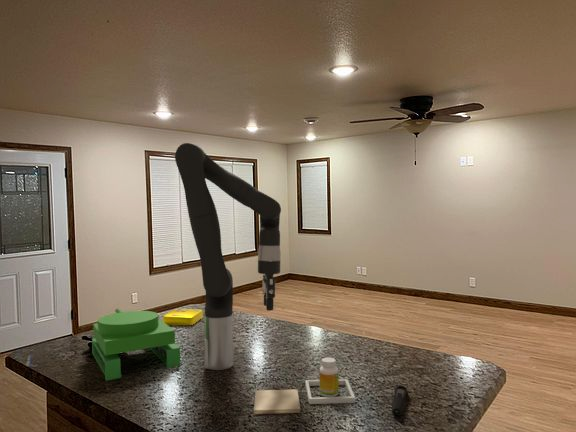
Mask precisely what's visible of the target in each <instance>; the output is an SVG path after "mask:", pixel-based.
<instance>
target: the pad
mask: <svg viewBox="0 0 576 432" xmlns="http://www.w3.org/2000/svg"><path fill="white" fill-rule="evenodd" d="M254 392H255V393H254V402H253V403H254V407H253V415H260V414H261V415H265V414H267V415H268V414H295V413H296V414H299V413H301V405H300V398H299V392H298V388H297V389H265V390H264V389H263V390H261V389H260V390H255V391H254Z"/></svg>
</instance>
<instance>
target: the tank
mask: <svg viewBox="0 0 576 432" xmlns="http://www.w3.org/2000/svg"><path fill="white" fill-rule="evenodd" d="M92 328H93V330H92V331H93V333H92V334H93V338H91V340H92V341H91V345H92V346H91V347H92V349H91V353H92V355H93V358H94V359H95V361H96V362H97V364H98V366H99V369H101V371H102V373H103V375H104V377H105V378H104V379H105V381H112V380H117V379H120V378H122V377H123V375H122V371H121V369H122V368H121V358H120V356H119V355H118V354H124V353H127V352H129V353H130V352H134V351H140V350H145V349H150V351H152V352H153V354H155V355H156V357H158V358H159V360H161V361H162V362H163V364H165V365H166V369H168V368H169V369H170V368H174V367H178V366H181V365H182V363H181V347H180V346H179V345H177V344H176V331H175V329H174V328H172V327H171V326H170V325H167V324H165V323H164V322H163V320H161V318H159V313H158V312H155V311H151V310H150V311H149V310H129V311H122V310H121V309H120V308H118V307H117V308H116V309H115V311H114V313H110V314H107V315H104V316H101V317H99V318H98V319H97V322H96V323H92Z"/></svg>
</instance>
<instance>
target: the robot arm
mask: <svg viewBox="0 0 576 432" xmlns="http://www.w3.org/2000/svg"><path fill="white" fill-rule="evenodd" d="M174 154H175V155H174V161H175V164H176V167H177V170H178V173H179V175H180V179H181V182H182V184H183V189H184V195H185V201H186V202H185V203H186V208H187V213H188V219H189V223H190V228H191V232H192V235H193V238H194V242H195V246H196V249H197V253H198V255H199V259H200V268H201V273H202V274H201V275H202V285H203V288H204V290H205V303H204V340H203V352H204V353H203V355H204V357H203V358H204V360H203V361H204V366H203V367H204V369H205V370H210V371H211V370H212V371H225V370H227V369H230V368H232V367H233V366H234V334H233V333H234V330H233V328H234V325H233V323H234V321H233V320H234V319H233V317H234V316H233V306H234V304H233V303H234V296H233V295H234V294H233V293H234V287H233V286H234V280H233V275H232V273H231V271H230V270H229V269H228V268H227V266H226V263H225V260H224V256H223V252H222V235H221V226H220V220H219V216H218V211H217V208H216V205H215V201H214V199H213V196H212V195H211V192H210V190H209V187H208V185H207V181H209V182H211V183H212V184H213V185H215V186H217V187H218V188H219V189H220V190H222V191H223V192H224V193H225V194H226V195H228V196H229V197H231V198H232V199H234V200H235V201H237V202H239V204H241V205H243V206H244V207H248V208H249V209H251V210H252V211H253V212H255V213H257V214H258V215H259V228H260V229H259V235H258V236H259V237H258V250H257V251H258V253H257V273H258V274H262V280H261V281H262V295H263V306H264V307H266V311H274V299H275V298H276V279H275V278H274V275H278V274H280V273H281V258H282V257H281V255H282V253H281V232H280V219H281V212H282V208H281V205H280V203H279V201H277V200H276V199H274V198H272V197H271V196H270V195H268V194H266V193H264V192H262V191H260V190H259V189H257V188H256V187H254V185H252V184H251V183H249V182H247V181H246V180H244V179H242V178H241V177H239V176H237V175H235V174H234V173H232V172H231V171H228V170H227V169H225V168H224V167H222V165H221V166H220V164H218V163H217V162H216V161H214V160H213V159H212V158H211V157H210V156H208V154H207V153H205V151H204V150H203V149H202V148H201V147H200V146H199V145H197V144H195V143H192V142H184V143H182V144H180V145H179V146H178V147H177V148H176V151H175V153H174ZM206 180H207V181H206Z"/></svg>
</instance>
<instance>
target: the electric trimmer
mask: <svg viewBox="0 0 576 432" xmlns="http://www.w3.org/2000/svg"><path fill="white" fill-rule="evenodd" d="M407 396H409V392H408V389H407V387H406V386H404V385H398V386H396V387H395V389H394V396H393V400H392V402H391V414H392V415H397V416H402V414H403V413H404V411H405V409H406V407H407V403H406V398H407Z"/></svg>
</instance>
